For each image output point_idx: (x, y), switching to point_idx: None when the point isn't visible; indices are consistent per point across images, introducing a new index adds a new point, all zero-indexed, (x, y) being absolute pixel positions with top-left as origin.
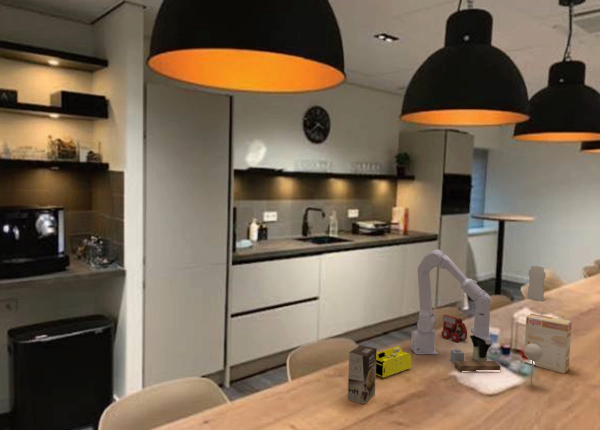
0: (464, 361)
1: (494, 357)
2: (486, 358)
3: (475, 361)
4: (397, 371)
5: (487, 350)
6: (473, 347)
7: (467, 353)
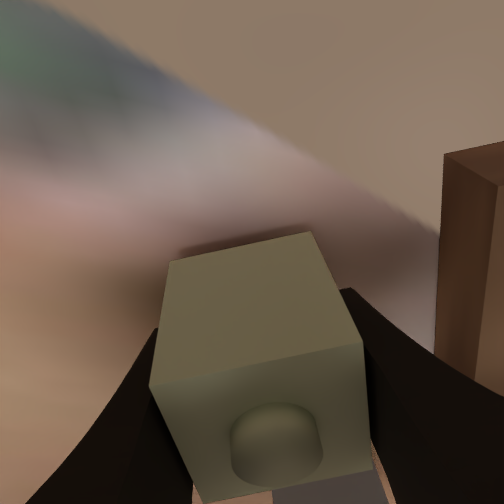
0: None
1: (5, 24)
2: (319, 254)
3: None
4: None
5: (442, 364)
6: (208, 488)
7: (17, 370)
